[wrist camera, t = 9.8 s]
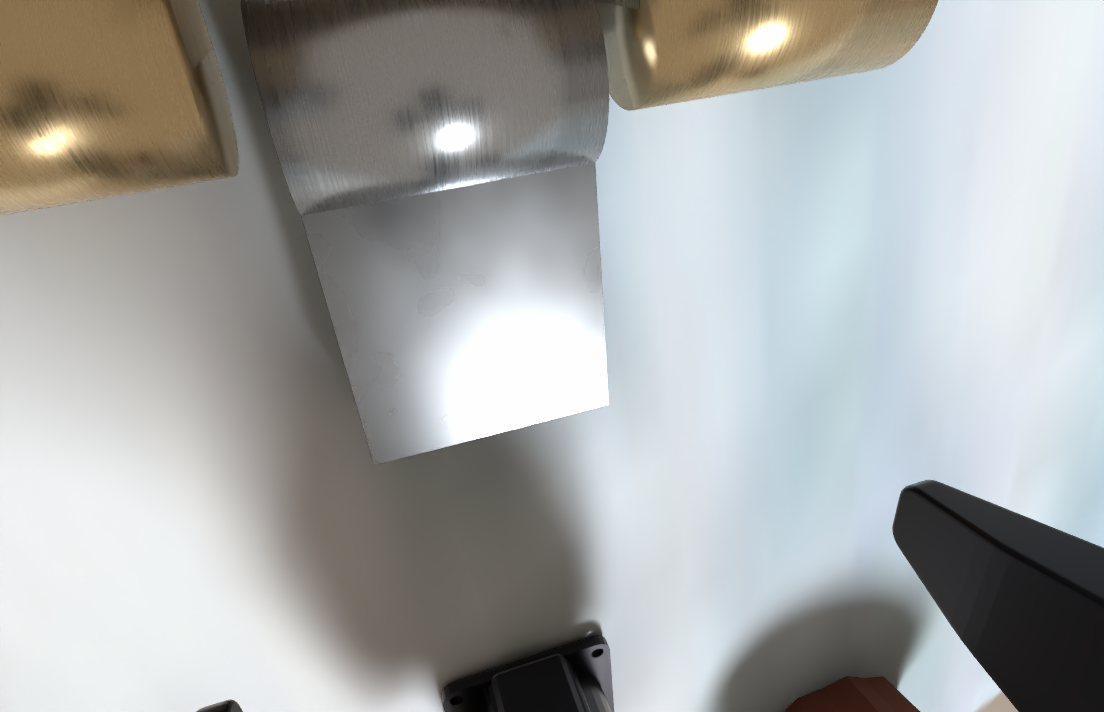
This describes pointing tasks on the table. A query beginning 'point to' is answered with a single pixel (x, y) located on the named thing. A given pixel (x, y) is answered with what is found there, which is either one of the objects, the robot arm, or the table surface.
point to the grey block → (446, 202)
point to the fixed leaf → (205, 118)
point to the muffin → (855, 697)
